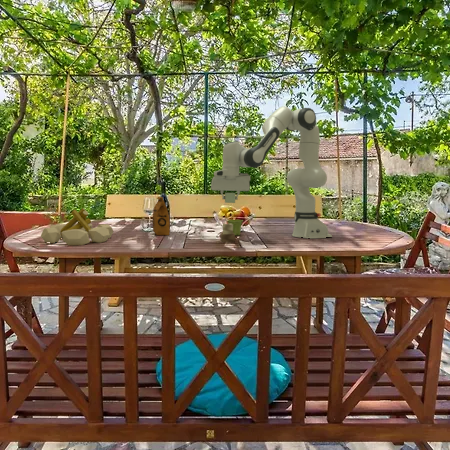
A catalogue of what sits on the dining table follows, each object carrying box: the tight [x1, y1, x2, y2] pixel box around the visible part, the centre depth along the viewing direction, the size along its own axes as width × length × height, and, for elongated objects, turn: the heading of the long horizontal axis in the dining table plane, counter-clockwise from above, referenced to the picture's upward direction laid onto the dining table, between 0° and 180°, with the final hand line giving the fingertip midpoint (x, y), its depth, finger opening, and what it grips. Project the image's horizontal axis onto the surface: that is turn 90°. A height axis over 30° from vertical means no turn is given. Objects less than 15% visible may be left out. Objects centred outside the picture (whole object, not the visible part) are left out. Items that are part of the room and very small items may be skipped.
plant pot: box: [226, 219, 244, 236], centre depth 238 cm, size 9×9×9 cm
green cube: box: [224, 192, 236, 204], centre depth 214 cm, size 5×5×5 cm
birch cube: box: [222, 223, 233, 234], centre depth 216 cm, size 5×5×5 cm
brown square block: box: [220, 232, 236, 243], centre depth 216 cm, size 7×7×4 cm
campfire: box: [40, 207, 114, 246], centre depth 215 cm, size 35×34×17 cm
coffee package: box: [152, 196, 171, 236], centre depth 238 cm, size 10×12×22 cm
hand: (229, 199), depth 214 cm, fingers closed on green cube, 5 cm apart
